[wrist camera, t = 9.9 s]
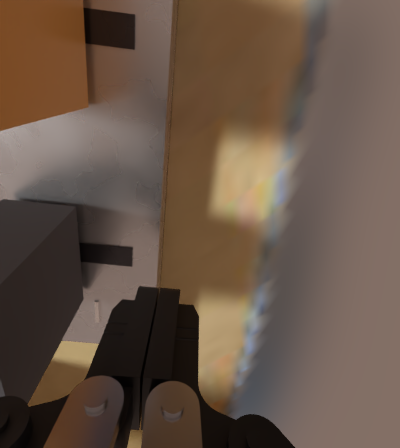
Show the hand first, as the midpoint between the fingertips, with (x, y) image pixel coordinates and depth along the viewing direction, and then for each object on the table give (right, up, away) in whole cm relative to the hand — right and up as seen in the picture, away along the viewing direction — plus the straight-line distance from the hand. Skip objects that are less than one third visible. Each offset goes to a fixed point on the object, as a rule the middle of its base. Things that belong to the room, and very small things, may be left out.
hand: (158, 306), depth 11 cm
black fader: (-5, +2, +2) cm, 6 cm away
